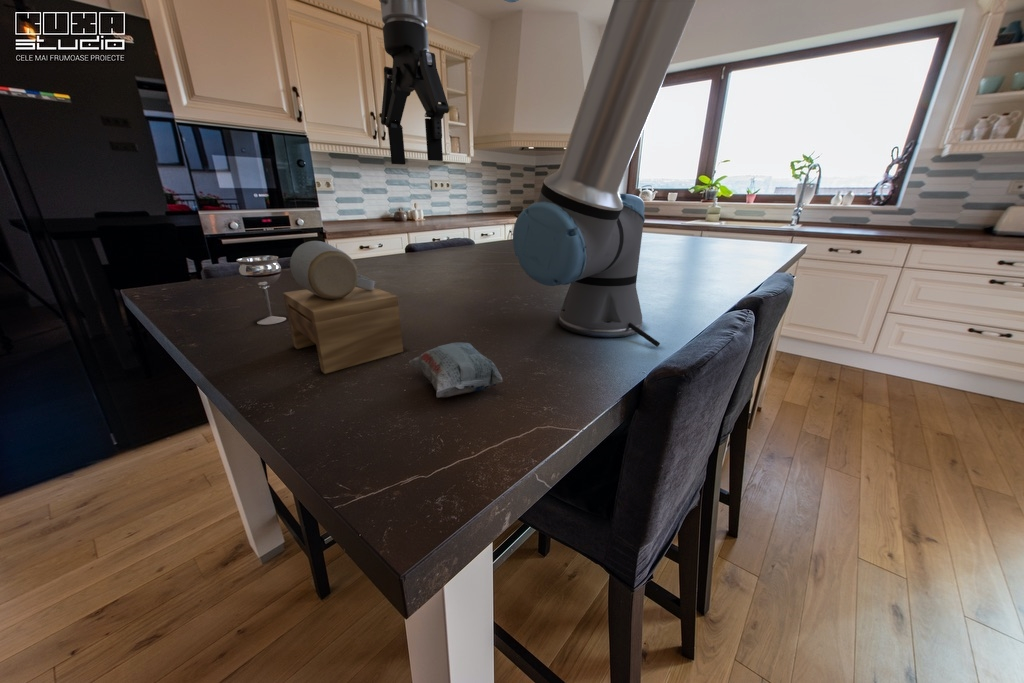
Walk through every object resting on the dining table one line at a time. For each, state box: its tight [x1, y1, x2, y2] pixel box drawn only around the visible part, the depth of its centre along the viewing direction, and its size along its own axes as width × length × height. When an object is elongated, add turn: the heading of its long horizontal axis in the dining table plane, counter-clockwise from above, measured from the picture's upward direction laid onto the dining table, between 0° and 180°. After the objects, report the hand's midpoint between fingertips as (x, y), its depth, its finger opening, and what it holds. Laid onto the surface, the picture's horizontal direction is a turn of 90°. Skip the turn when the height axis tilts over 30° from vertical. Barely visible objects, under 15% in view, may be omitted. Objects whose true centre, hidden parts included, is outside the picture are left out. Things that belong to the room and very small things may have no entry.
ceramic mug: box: [289, 240, 376, 299], centre depth 59 cm, size 11×8×8 cm
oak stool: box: [282, 286, 404, 375], centre depth 62 cm, size 14×12×9 cm
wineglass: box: [236, 255, 287, 325], centre depth 75 cm, size 7×7×12 cm
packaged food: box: [408, 341, 504, 399], centre depth 51 cm, size 9×12×5 cm
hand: (415, 162), depth 75 cm, fingers open, 13 cm apart
